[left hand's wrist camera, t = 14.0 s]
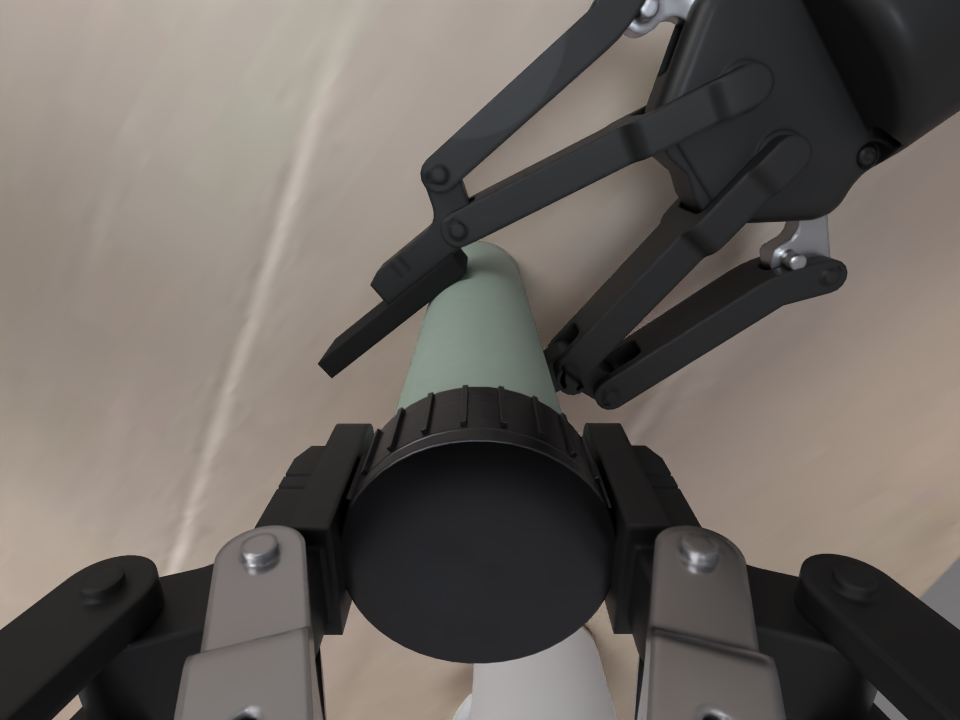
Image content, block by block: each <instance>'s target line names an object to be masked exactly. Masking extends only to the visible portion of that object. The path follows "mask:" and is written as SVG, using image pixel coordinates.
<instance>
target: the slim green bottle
mask: <svg viewBox="0 0 960 720" xmlns="http://www.w3.org/2000/svg"><path fill="white" fill-rule="evenodd" d="M461 249H462V250H463V251H464V253H465V254H466V255H467V256H468V262H467V271H466V274H464V275H463V276H462V277H461V278H459V279H458V280H457V281H455V282H454V283H453V284H452V285H450V286H449V287H448V288H446V289H445V290H444V291H442V292H441V293H440V294H439V295H438V296H436V297H435V298H434V299H432V300H431V301H430V302H429V305H428V308H427V311H426V314H425V318H424V321H423V324H422V327H421V331H420V334H419V337H418V340H417V344H416V347H415V350H414V354H413V357H412V360H411V363H410V367H409V370H408V373H407V376H406V380H405V383H404V386H403V389H402V393H401V396H400V399H399V403H398V406H397V409H396V412H395V416H396V414H397V411H398V409H400V408H401V407H403V408H404V409H405V408H406V407H408V406H409V405H411V404H413V403H415V402H417V401H419V400H421V399H423V398H425V397H427V396H428V393H431V392H433V393H434V394H436V393H438V392H442V391H446V390H451V389H455V388H462V385H468V387H493V388H498V386H503V387H504V389H506V390H510V391H514V392H518V393H521V394H524V395H527V396H529V397H532V396H533V395H534V396H536V397H538V401H540V402H542V403H544V404H545V405H547V406H549V407H551V408H552V409H553V410H555V411H556V412H557V413H559V414H561V413H562V412H561V409H560V406H559V402H558V399H557V396H556V392H555V389H554V386H553V383H552V379H551V376H550V373H549V369H548V366H547V363H546V359H545V356H544V353H543V349H542V346H541V343H540V339H539V336H538V333H537V329H536V326H535V323H534V320H533V316H532V313H531V310H530V306H529V303H528V300H527V296H526V293H525V290H524V286H523V283H522V280H521V276H520V273H519V270H518V267H517V265H516V263H515V261H514V260H513V259H512V257H511V256H510V255H509V254H508V253H507V252H506V251H505V250H503V249H502V248H500V247H498V246H496V245H494V244H491V243H487V242H473V243H471V244H469V245H467V246H465V247H462V248H461Z"/></svg>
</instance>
